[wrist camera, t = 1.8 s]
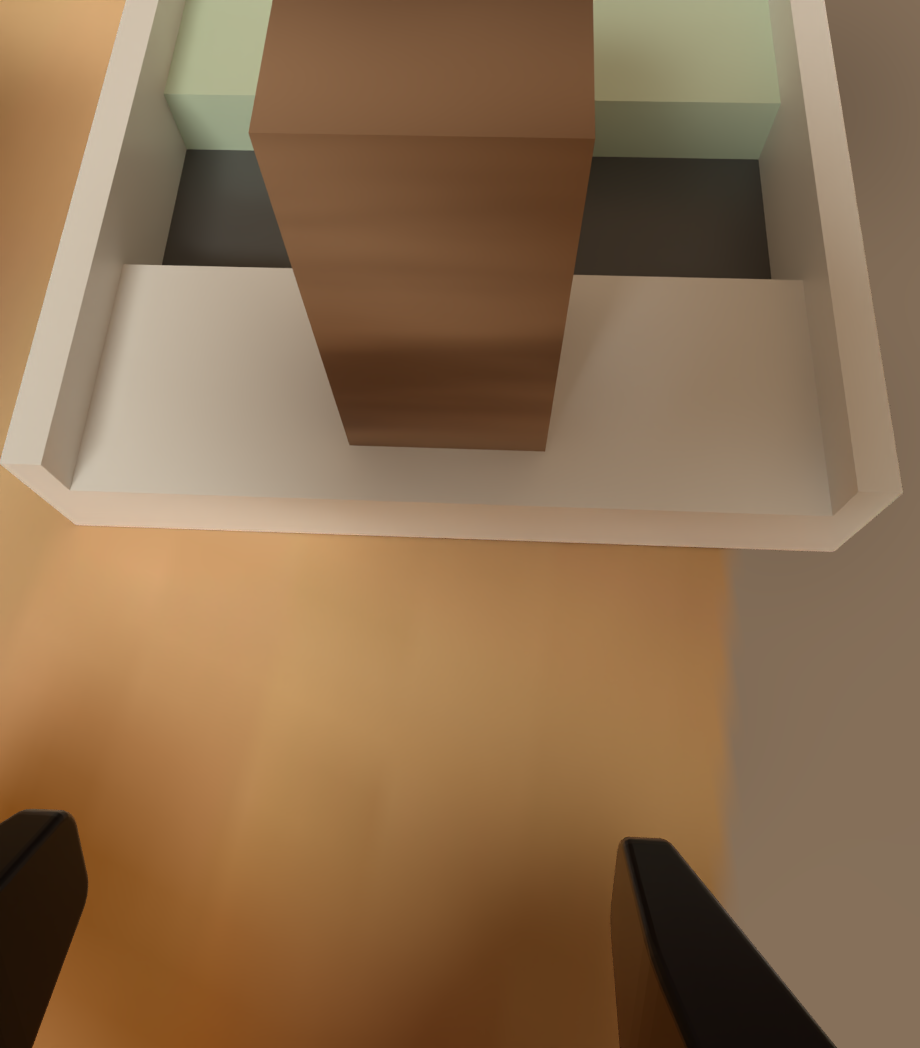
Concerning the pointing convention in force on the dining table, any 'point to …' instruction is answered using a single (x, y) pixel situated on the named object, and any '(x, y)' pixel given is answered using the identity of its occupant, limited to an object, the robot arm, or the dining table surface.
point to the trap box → (590, 331)
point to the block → (431, 204)
